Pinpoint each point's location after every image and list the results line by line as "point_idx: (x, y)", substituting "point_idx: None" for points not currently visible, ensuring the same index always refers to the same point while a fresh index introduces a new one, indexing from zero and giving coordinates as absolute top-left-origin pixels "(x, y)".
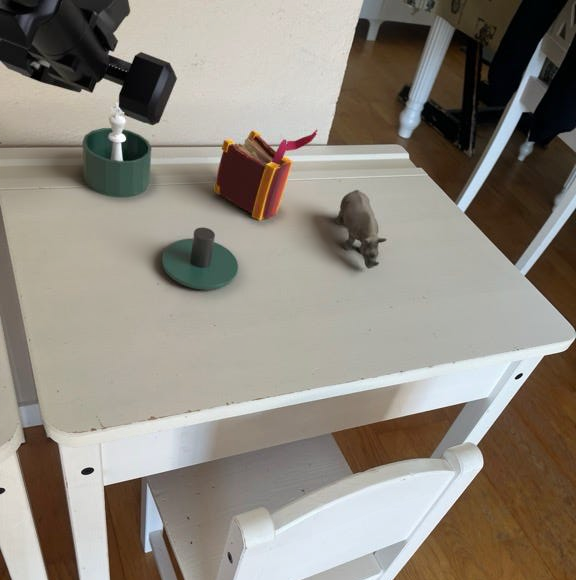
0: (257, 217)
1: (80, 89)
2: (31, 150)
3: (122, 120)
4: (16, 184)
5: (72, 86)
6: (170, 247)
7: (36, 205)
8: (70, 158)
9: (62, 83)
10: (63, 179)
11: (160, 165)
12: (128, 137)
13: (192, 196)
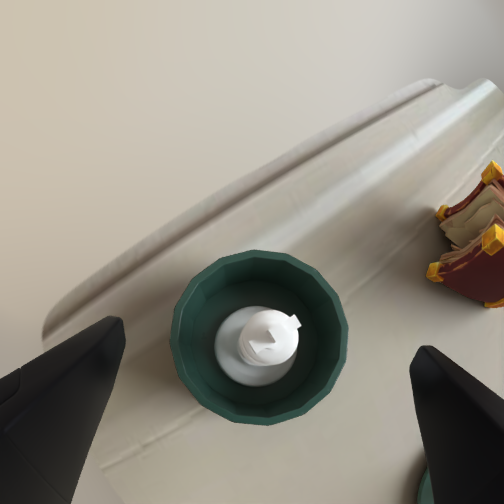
0: (493, 307)
1: (122, 342)
2: (72, 329)
3: (293, 342)
4: (104, 450)
5: (103, 393)
6: (427, 486)
7: (166, 494)
8: (139, 318)
9: (80, 449)
10: (162, 398)
11: (305, 240)
12: (256, 262)
13: (398, 308)
